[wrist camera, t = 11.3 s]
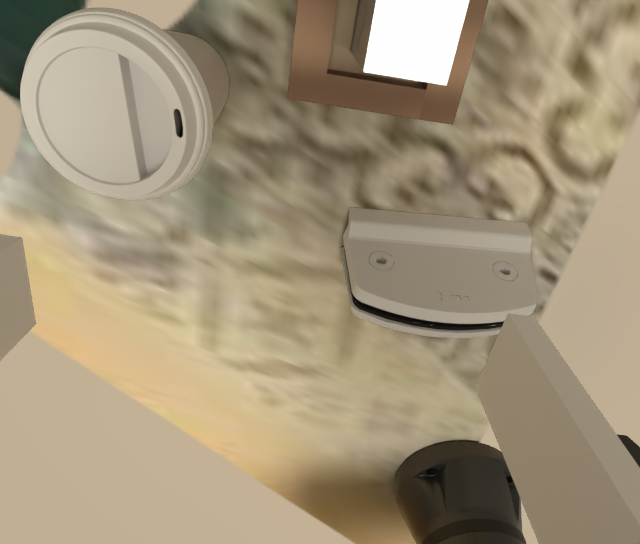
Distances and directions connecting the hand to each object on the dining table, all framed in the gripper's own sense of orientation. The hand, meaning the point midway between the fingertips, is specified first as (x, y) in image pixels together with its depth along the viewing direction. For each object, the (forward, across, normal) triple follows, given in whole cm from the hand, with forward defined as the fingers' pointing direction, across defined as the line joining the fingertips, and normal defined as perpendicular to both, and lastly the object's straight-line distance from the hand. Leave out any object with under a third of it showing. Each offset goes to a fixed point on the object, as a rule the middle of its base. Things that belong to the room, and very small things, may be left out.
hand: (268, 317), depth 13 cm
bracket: (+27, -4, -10) cm, 29 cm away
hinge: (+28, -13, +10) cm, 32 cm away
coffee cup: (+27, +10, -2) cm, 29 cm away
